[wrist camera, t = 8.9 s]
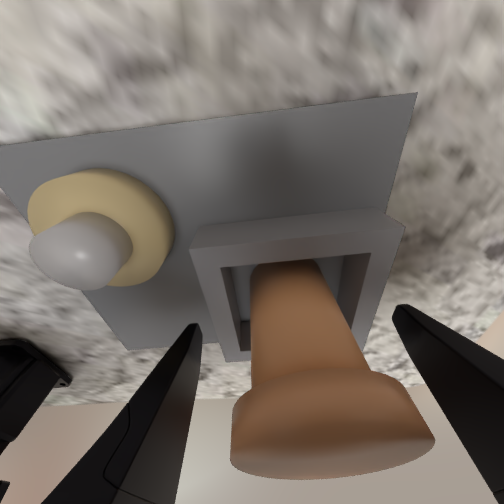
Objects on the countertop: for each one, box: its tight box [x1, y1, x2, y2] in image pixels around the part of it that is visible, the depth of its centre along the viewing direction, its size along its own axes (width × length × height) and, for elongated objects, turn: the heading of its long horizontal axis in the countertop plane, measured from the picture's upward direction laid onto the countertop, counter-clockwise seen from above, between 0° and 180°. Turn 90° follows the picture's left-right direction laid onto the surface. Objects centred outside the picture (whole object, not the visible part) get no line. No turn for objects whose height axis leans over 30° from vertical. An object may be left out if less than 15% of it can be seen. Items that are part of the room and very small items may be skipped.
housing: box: [0, 92, 418, 362], centre depth 10 cm, size 16×13×4 cm
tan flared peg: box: [230, 259, 435, 480], centre depth 8 cm, size 5×5×7 cm
